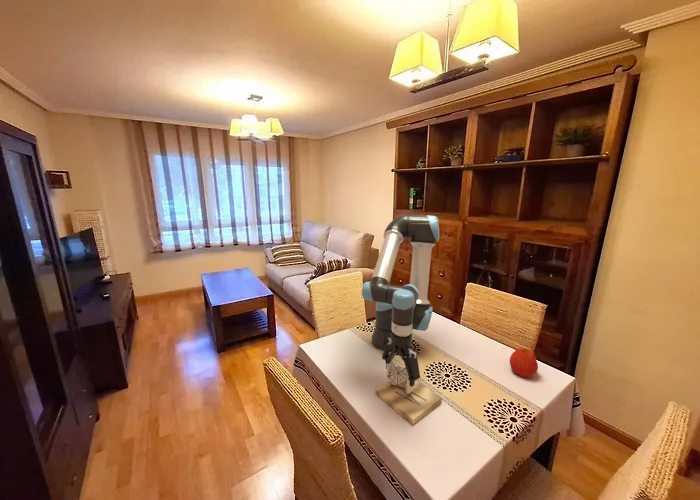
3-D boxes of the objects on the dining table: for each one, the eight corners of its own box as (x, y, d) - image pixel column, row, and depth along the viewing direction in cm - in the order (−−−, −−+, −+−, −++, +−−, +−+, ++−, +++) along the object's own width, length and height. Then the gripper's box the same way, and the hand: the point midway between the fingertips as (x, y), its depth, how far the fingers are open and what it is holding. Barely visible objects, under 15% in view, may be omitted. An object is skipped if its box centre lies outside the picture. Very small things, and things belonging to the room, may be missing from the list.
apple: (509, 361, 127) (513, 340, 124) (537, 370, 121) (541, 348, 118) (506, 373, 118) (510, 351, 116) (535, 383, 113) (539, 360, 110)
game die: (401, 391, 110) (417, 372, 109) (398, 399, 102) (415, 378, 101) (384, 375, 113) (399, 355, 112) (379, 381, 105) (395, 360, 104)
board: (375, 393, 107) (375, 389, 107) (403, 376, 117) (404, 372, 116) (412, 424, 93) (413, 419, 93) (441, 402, 103) (441, 397, 102)
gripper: (373, 323, 109) (372, 373, 114) (419, 349, 92) (415, 406, 97) (387, 317, 114) (385, 366, 119) (433, 341, 97) (429, 396, 102)
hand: (399, 384), depth 108 cm, fingers closed on game die, 9 cm apart
